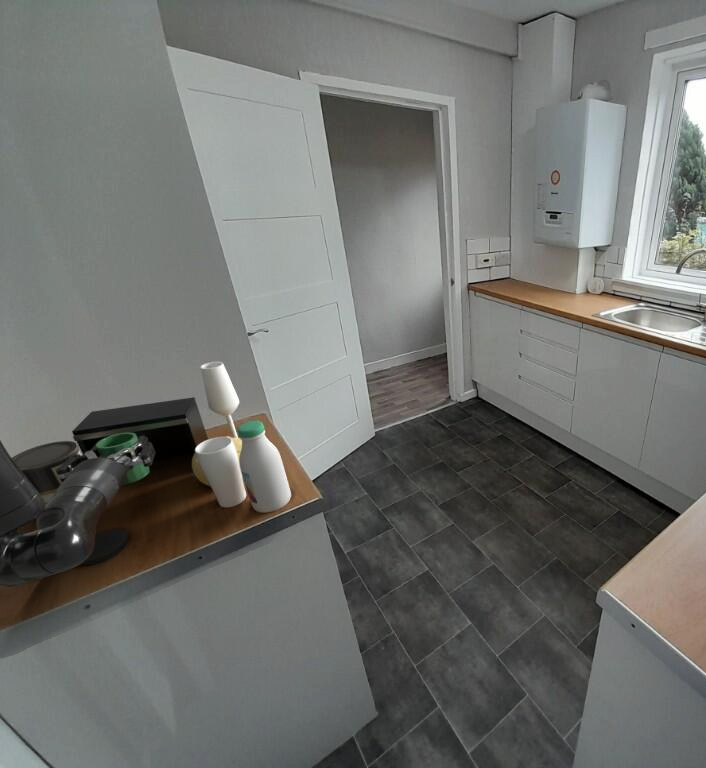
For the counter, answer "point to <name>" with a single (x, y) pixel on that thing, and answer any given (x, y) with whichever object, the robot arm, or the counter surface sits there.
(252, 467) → the milk bottle
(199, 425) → the cubby
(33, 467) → the coffee can
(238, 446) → the yellow ball
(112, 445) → the pot
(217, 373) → the champagne flute
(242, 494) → the drinking glass
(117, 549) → the dark round coaster
